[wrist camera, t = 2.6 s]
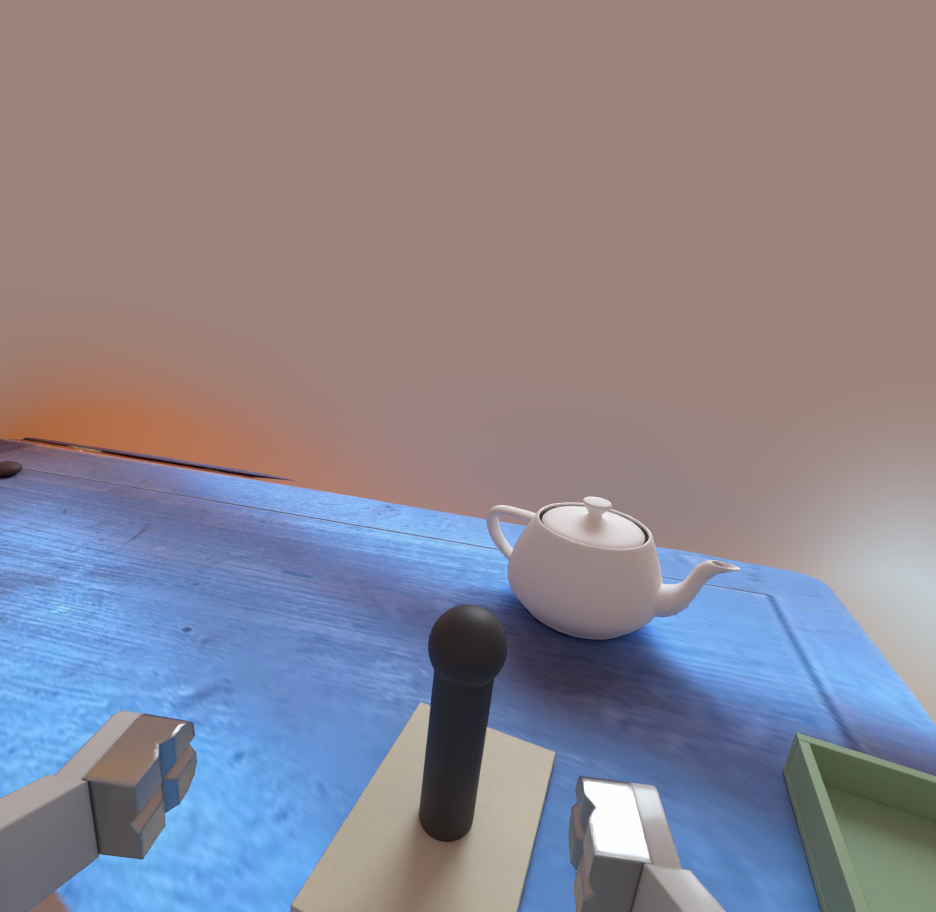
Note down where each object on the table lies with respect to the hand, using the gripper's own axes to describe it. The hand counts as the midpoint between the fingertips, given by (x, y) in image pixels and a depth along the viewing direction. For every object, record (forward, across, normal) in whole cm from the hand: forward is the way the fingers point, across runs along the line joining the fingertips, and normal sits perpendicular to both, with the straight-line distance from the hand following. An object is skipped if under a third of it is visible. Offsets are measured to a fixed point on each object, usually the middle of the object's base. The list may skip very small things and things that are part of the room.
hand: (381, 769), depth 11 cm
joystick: (+12, -1, +16) cm, 20 cm away
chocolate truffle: (+47, +56, +16) cm, 75 cm away
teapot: (+34, -12, +17) cm, 39 cm away
